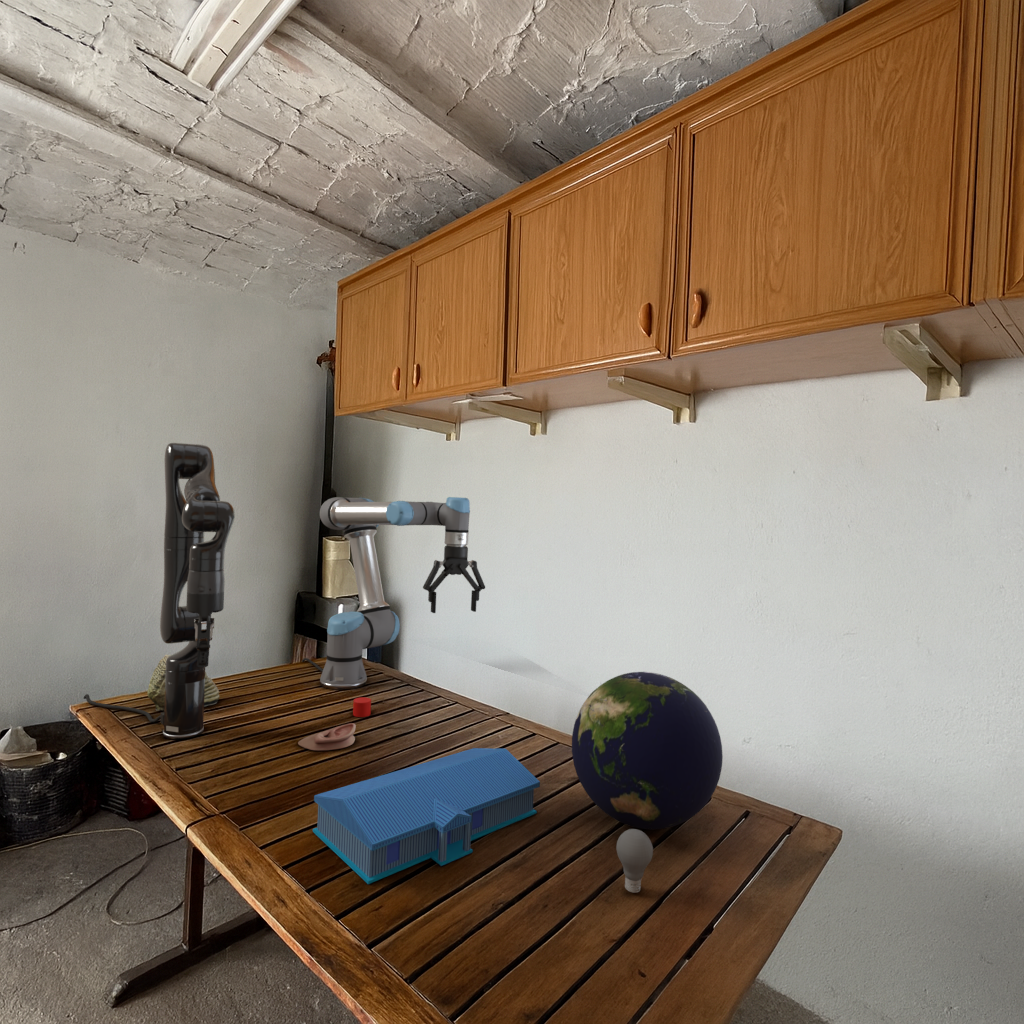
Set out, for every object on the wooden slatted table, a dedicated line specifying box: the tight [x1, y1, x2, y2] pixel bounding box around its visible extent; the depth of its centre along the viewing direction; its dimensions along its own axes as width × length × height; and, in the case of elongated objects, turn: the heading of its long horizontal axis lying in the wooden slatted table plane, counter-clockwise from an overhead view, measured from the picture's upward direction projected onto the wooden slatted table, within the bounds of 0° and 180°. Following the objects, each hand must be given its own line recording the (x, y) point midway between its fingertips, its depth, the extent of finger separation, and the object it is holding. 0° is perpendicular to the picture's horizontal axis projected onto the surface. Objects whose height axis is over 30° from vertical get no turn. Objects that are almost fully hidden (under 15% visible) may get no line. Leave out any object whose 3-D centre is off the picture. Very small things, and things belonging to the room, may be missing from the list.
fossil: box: [147, 654, 221, 712], centre depth 185 cm, size 9×18×15 cm, turn 132°
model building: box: [312, 747, 541, 885], centre depth 124 cm, size 39×24×10 cm, turn 132°
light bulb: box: [615, 828, 654, 894], centre depth 106 cm, size 6×6×10 cm
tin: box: [352, 696, 372, 718], centre depth 185 cm, size 5×5×4 cm
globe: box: [571, 671, 724, 831], centre depth 129 cm, size 30×30×30 cm
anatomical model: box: [297, 722, 357, 751], centre depth 162 cm, size 13×4×12 cm
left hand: (203, 661), depth 142 cm, fingers open, 8 cm apart
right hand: (453, 611), depth 203 cm, fingers open, 13 cm apart
